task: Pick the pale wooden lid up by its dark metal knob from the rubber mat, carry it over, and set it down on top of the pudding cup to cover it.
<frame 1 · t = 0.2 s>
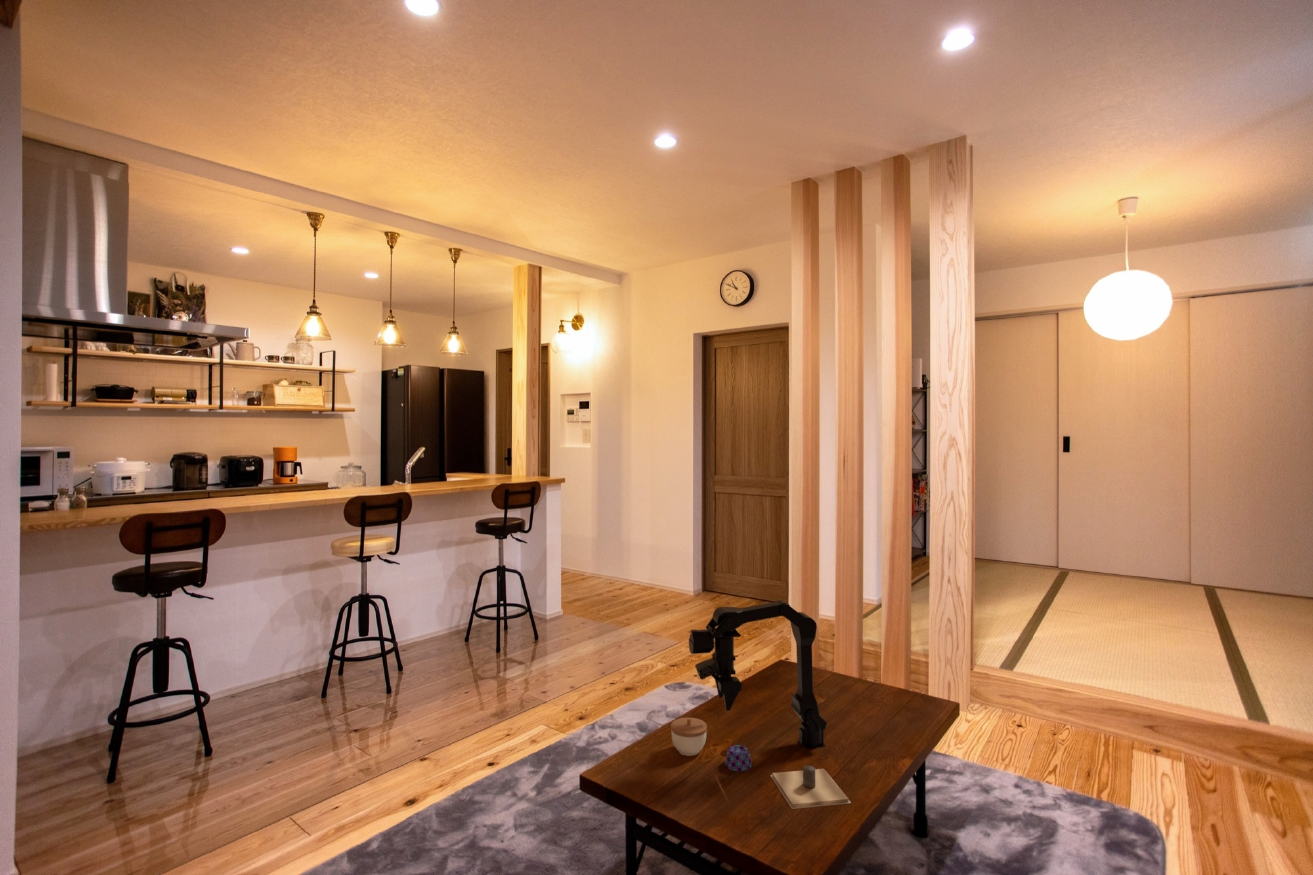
hand: (724, 703, 190), 14 cm above the table, tool pointing down, fingers open, 9 cm apart
pudding: (738, 768, 182), on the table
mat: (809, 790, 169), on the table
lid: (809, 788, 169), point 1 cm above the table, touching mat
lidded jar: (688, 751, 191), on the table
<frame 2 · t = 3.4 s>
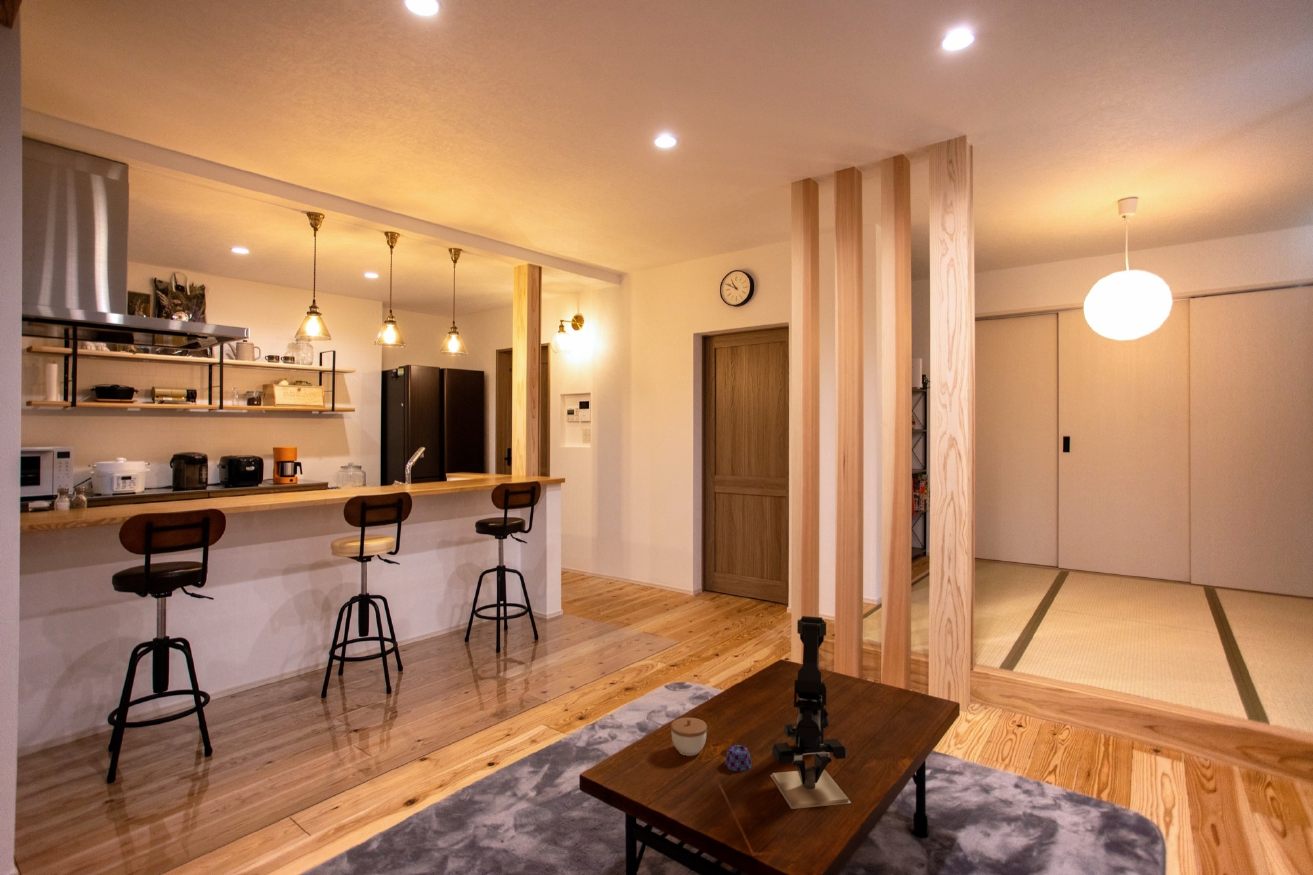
hand: (809, 782, 169), 2 cm above the table, tool pointing down, fingers closed on lid, 3 cm apart
lid: (809, 788, 169), point 1 cm above the table, touching gripper, mat
everything else where it was.
when the fingers open (7 cm above the table, at t = 6.4 s): lid drops 1 cm, resting on pudding.
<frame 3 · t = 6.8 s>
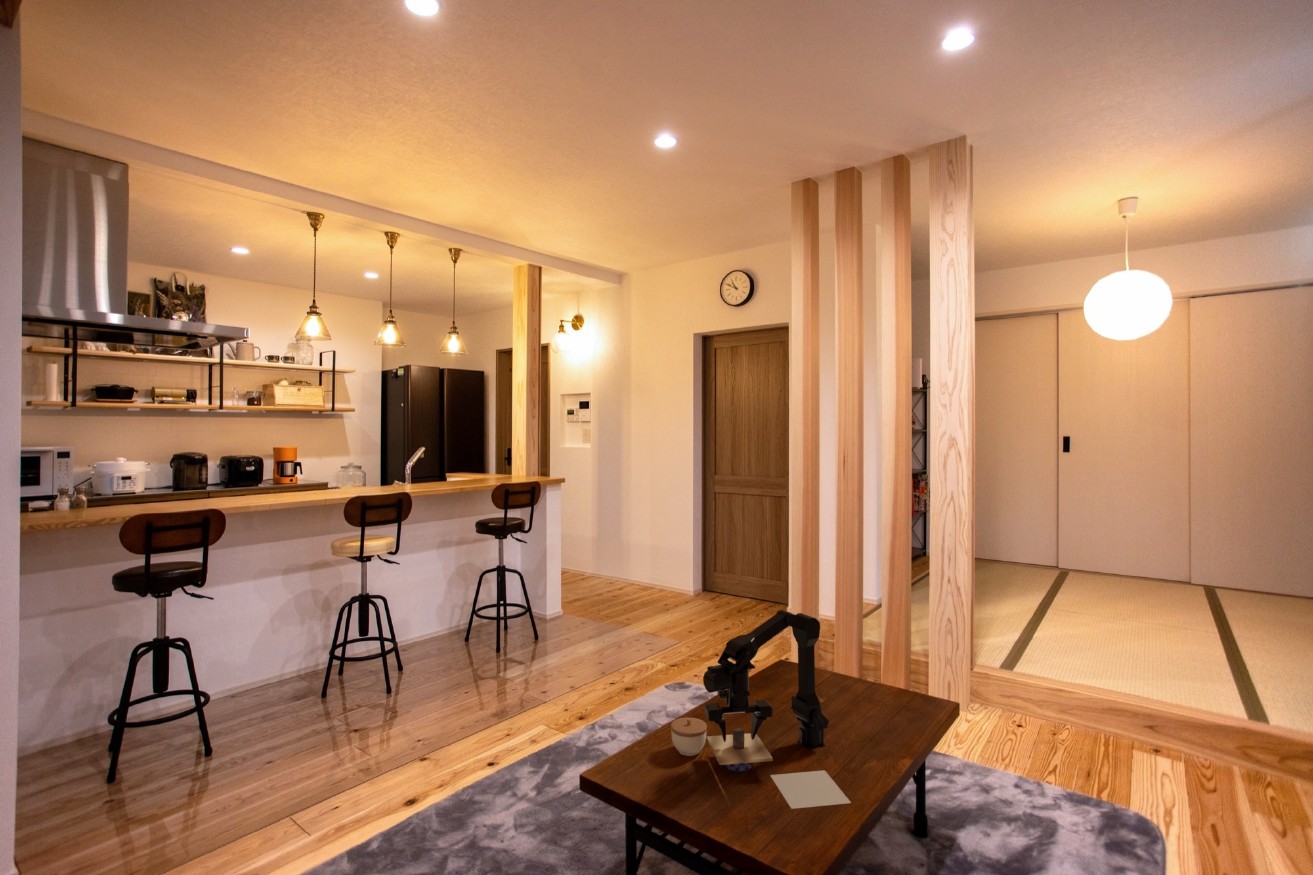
hand: (738, 740, 182), 7 cm above the table, tool pointing down, fingers open, 8 cm apart
pudding: (738, 768, 182), on the table, touching lid
lid: (738, 749, 182), point 5 cm above the table, touching pudding
everything else where it was.
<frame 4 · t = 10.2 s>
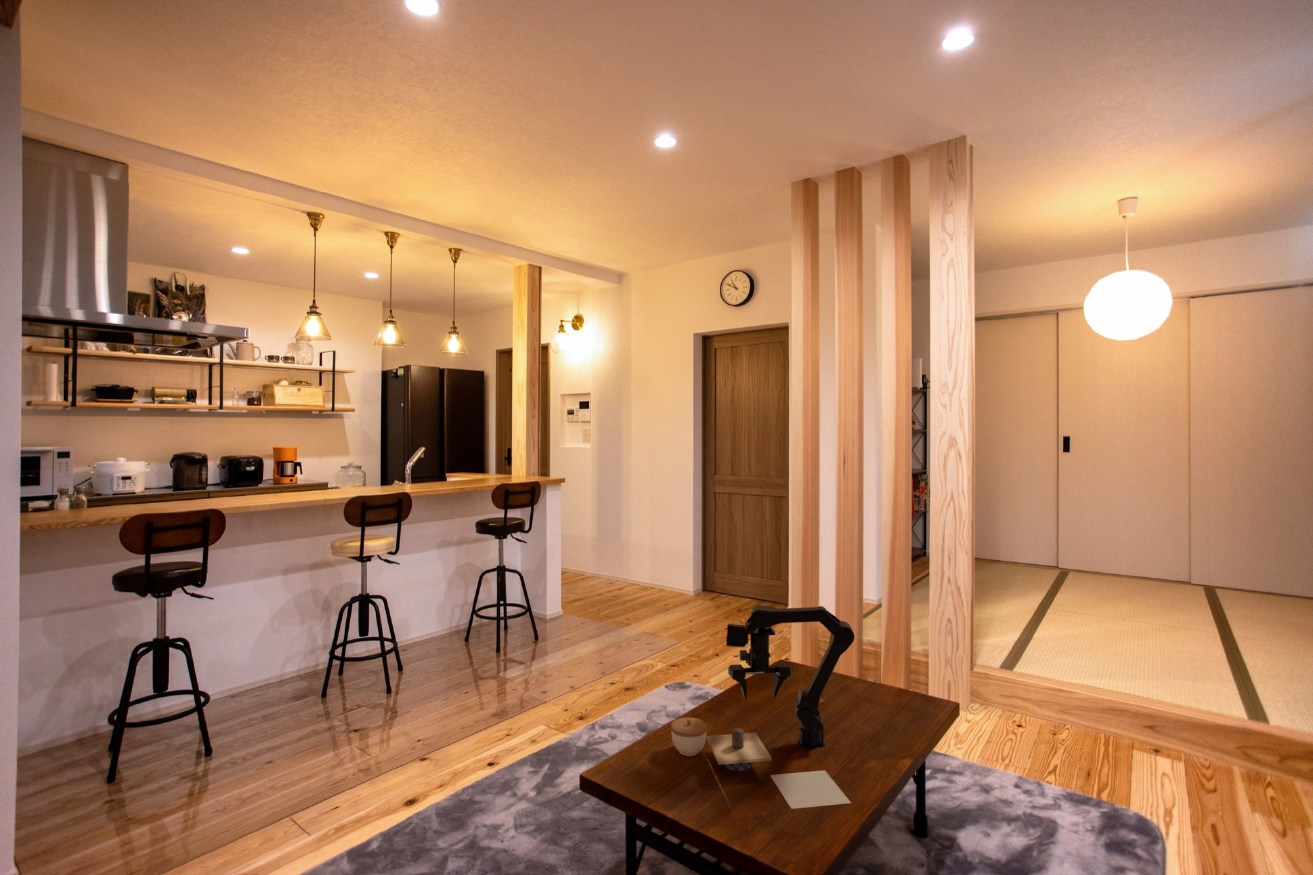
hand: (759, 698, 197), 13 cm above the table, tool pointing down, fingers open, 9 cm apart
pudding: (737, 768, 182), on the table
lid: (737, 749, 182), point 5 cm above the table
everything else where it was.
at the end: lid 0.1 cm off-centre on the pudding, point 5.5 cm above the pudding's base; the gripper is holding nothing; lid tilted 0° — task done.
